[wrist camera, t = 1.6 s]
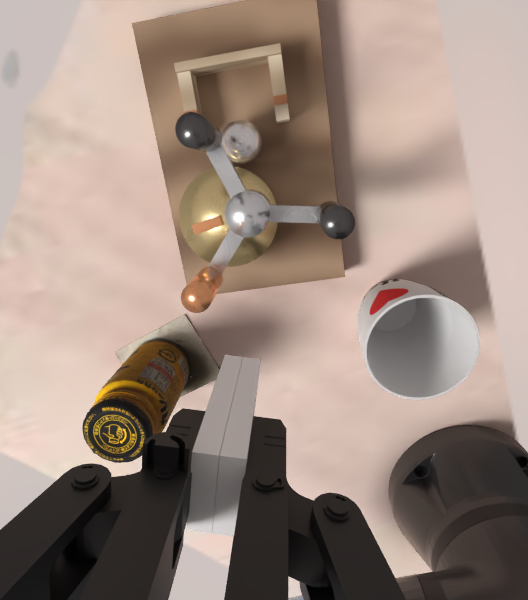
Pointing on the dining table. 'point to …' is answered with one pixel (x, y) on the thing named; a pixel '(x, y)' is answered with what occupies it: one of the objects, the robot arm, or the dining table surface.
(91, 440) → the condiment
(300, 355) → the dining table surface
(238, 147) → the ball
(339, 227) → the capstan
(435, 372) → the cup
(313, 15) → the stand
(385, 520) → the dining table surface
